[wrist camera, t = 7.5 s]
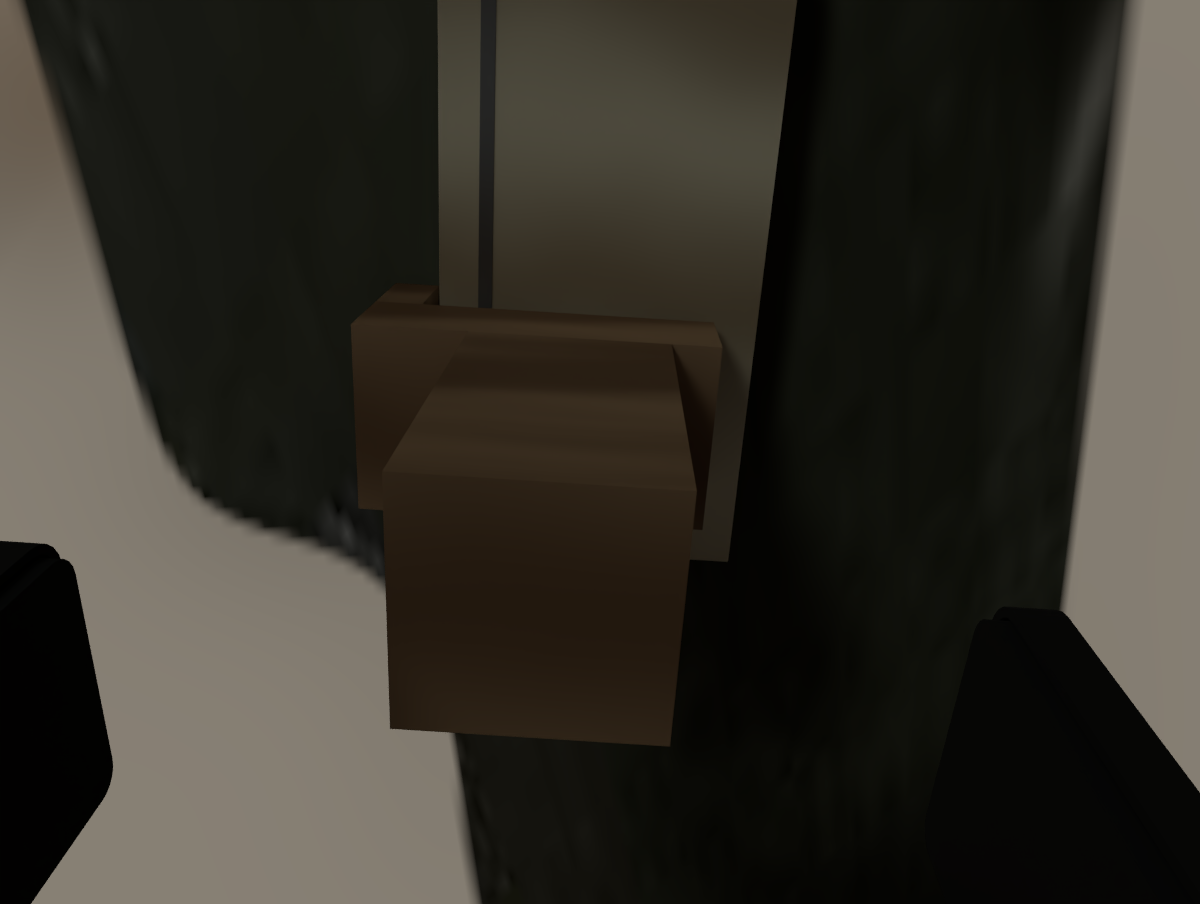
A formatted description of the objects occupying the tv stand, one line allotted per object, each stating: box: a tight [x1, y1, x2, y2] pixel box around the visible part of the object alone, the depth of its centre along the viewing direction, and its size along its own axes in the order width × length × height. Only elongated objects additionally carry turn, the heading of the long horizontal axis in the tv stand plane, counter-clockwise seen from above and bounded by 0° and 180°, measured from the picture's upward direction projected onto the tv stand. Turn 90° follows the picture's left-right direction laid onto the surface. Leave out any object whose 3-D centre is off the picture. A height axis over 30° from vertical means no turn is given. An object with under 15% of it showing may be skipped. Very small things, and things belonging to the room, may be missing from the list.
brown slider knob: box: [351, 283, 723, 746], centre depth 18 cm, size 4×7×11 cm, turn 87°
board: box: [438, 0, 797, 562], centre depth 21 cm, size 14×7×2 cm, turn 177°
